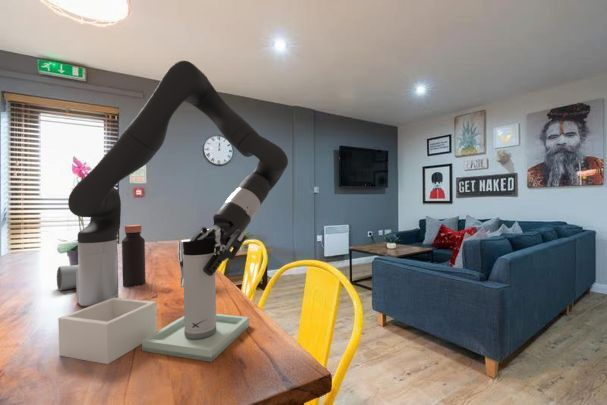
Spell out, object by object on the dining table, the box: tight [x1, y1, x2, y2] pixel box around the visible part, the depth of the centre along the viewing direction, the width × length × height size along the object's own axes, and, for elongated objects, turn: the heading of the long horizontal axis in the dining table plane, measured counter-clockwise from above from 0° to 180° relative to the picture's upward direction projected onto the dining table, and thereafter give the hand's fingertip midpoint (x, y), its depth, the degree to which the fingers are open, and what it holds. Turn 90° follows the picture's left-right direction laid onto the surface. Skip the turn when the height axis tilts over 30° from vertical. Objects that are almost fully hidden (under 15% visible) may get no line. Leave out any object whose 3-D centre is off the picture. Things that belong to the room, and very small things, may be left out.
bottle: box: [121, 224, 147, 288], centre depth 100 cm, size 7×7×20 cm
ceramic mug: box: [56, 264, 78, 291], centre depth 99 cm, size 11×8×8 cm
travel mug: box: [183, 237, 217, 339], centre depth 61 cm, size 6×7×20 cm
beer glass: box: [177, 238, 192, 288], centre depth 99 cm, size 7×7×15 cm
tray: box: [141, 313, 250, 363], centre depth 61 cm, size 15×15×2 cm
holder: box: [57, 297, 158, 365], centre depth 59 cm, size 12×12×7 cm
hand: (194, 270), depth 60 cm, fingers open, 8 cm apart
